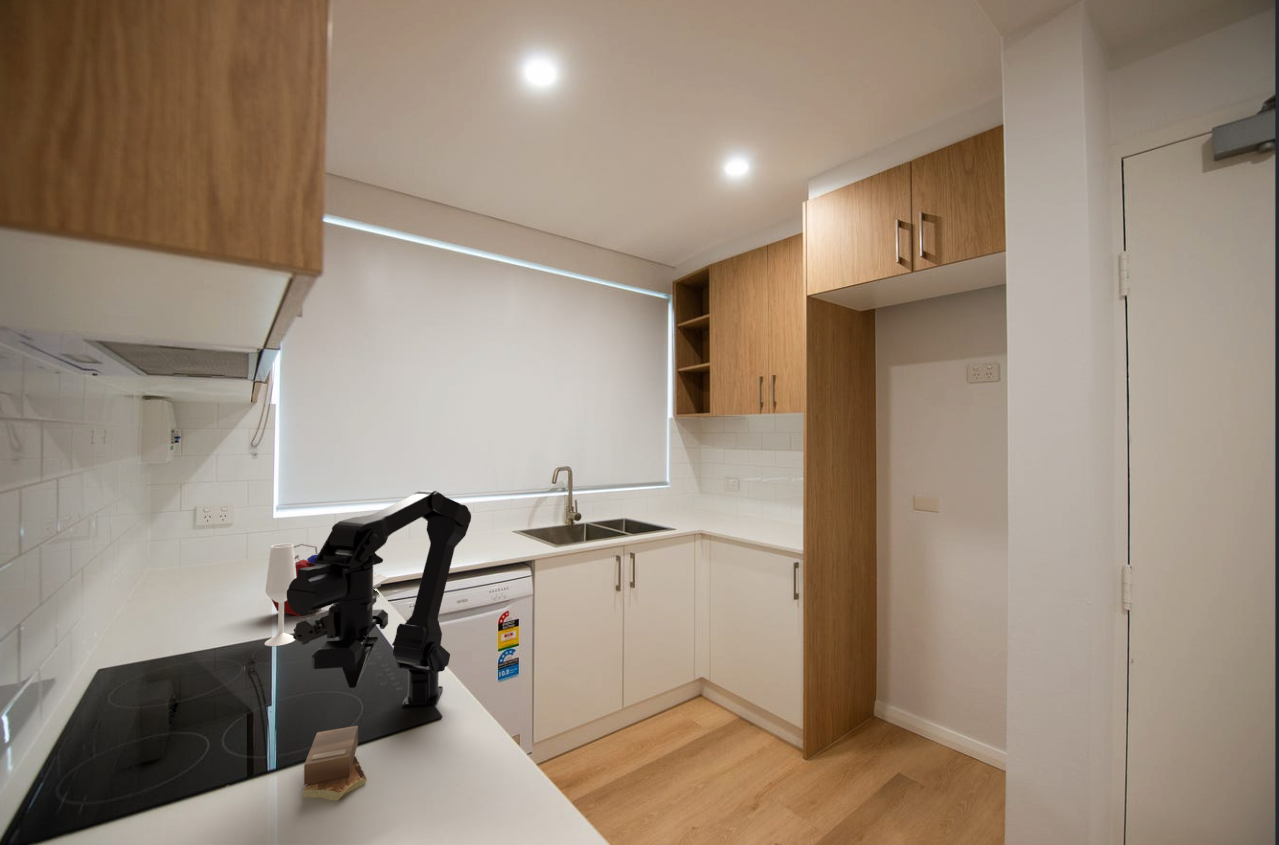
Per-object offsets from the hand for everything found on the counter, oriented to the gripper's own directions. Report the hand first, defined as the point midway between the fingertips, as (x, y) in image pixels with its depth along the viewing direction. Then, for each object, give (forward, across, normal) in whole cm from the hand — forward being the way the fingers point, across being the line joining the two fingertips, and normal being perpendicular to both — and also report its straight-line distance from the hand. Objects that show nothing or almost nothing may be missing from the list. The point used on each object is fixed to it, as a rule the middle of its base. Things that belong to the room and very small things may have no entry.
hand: (353, 686), depth 91 cm
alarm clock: (+11, -71, -38) cm, 81 cm away
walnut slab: (+8, +2, -2) cm, 8 cm away
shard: (+11, +9, 0) cm, 14 cm away
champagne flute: (+10, -51, -34) cm, 62 cm away
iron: (+11, -91, -32) cm, 97 cm away
